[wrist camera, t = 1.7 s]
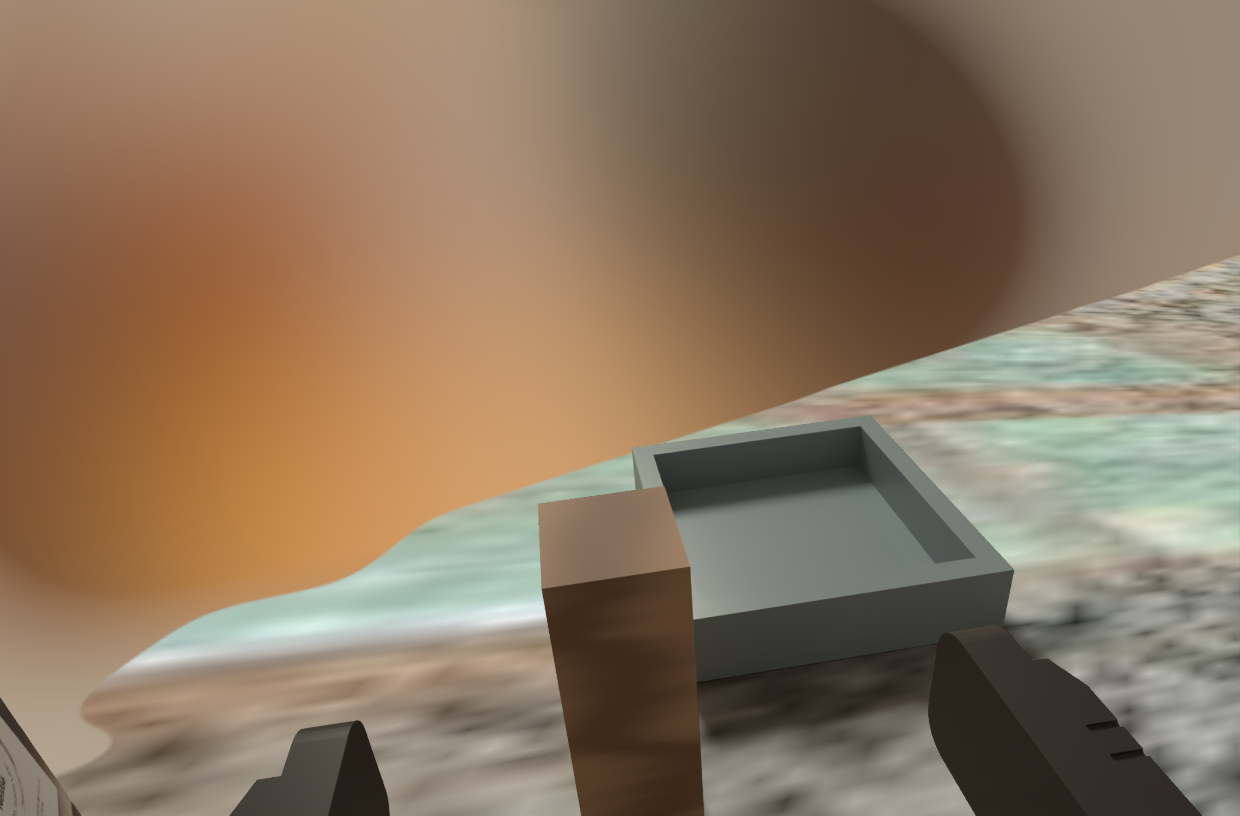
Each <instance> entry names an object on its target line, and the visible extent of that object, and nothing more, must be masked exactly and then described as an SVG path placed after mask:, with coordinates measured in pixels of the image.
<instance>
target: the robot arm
mask: <svg viewBox="0 0 1240 816" xmlns="http://www.w3.org/2000/svg"><path fill="white" fill-rule="evenodd" d="M928 717H929V724H930V729H931V733H932V736H933V739H934V742H935V745H936V747H937V749H938V751H939V753H940V755H941V757H942V759H943V761H944V762H945V764H946V766H947V767H948V769H949V771H950V773H951V774H952V776H953V778H954V779H955V781H956V783H957V785H958V786H959V788H960V790H961V791H962V793H963V795H964V796H965V798H966V800H967V802H968V803H969V805H970V807H971V808H972V810H973V812H974V813H975V815H976V816H1202V815H1201V814H1200V813H1199V812H1198V811H1197V809H1196V808H1195V807H1194V806H1193V805H1192V804H1191V803H1190V801H1189V800H1188V799H1187V798H1186V797H1185V796H1184V795H1183V794H1182V792H1181V791H1180V790H1179V789H1178V788H1177V787H1176V786H1175V784H1174V783H1173V782H1172V781H1171V780H1170V779H1169V778H1168V776H1167V775H1166V774H1165V773H1164V772H1163V771H1162V770H1161V769H1160V767H1159V766H1158V765H1157V764H1156V763H1155V762H1154V761H1153V759H1152V758H1151V757H1150V756H1145V754H1144V753H1143V748H1142V747H1141V746H1140V745H1139V744H1138V742H1137V741H1136V740H1135V739H1134V738H1133V737H1132V736H1131V734H1130V733H1129V732H1128V731H1127V730H1126V729H1125V728H1124V727H1120V726H1119V724H1118V721H1117V719H1116V717H1115V716H1114V715H1113V714H1112V713H1111V712H1110V711H1109V709H1108V708H1107V707H1106V706H1105V705H1104V704H1103V703H1102V702H1101V700H1100V699H1099V698H1098V697H1097V696H1096V695H1095V694H1094V692H1093V691H1092V690H1091V689H1090V688H1089V687H1088V686H1087V685H1086V684H1084V683H1083V682H1082V681H1080V680H1079V679H1077V678H1076V677H1074V676H1073V675H1071V674H1070V673H1068V672H1067V671H1065V670H1064V669H1062V668H1061V667H1059V666H1058V665H1056V664H1055V663H1053V662H1052V661H1050V660H1049V659H1040V660H1034V661H1032V660H1031V659H1030V658H1029V656H1028V655H1027V654H1026V653H1025V652H1024V650H1023V649H1022V648H1021V647H1020V646H1019V644H1018V643H1017V642H1016V641H1015V640H1014V638H1013V637H1012V636H1011V635H1010V634H1009V633H1008V632H1007V631H1006V630H1005V629H1004V628H1002V627H1000V626H997V625H994V626H987V627H980V628H974V629H967V630H960V631H954V632H947V633H944V634H942V635H941V636H940V639H939V641H938V647H937V653H936V660H935V666H934V673H933V680H932V686H931V693H930V699H929V707H928ZM230 816H390V812H389V803H388V797H387V793H386V789H385V786H384V783H383V780H382V777H381V775H380V772H379V769H378V766H377V763H376V760H375V757H374V754H373V751H372V748H371V745H370V742H369V739H368V736H367V733H366V731H365V728H364V726H363V724H362V723H361V722H360V721H358V720H357V721H350V722H344V723H337V724H331V725H324V726H318V727H311V728H305V729H301V730H300V731H298V733H297V734H296V735H295V737H294V739H293V742H292V745H291V748H290V751H289V754H288V757H287V760H286V763H285V766H284V769H283V772H282V775H281V776H279V777H272V778H266V779H260V780H256V782H255V783H254V784H253V786H252V787H251V788H250V790H249V791H248V792H247V794H246V795H245V796H244V797H243V799H242V800H241V801H240V803H239V804H238V805H237V807H236V808H235V809H234V811H233V812H232V813H231V814H230Z"/></svg>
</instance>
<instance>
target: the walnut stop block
mask: <svg viewBox="0 0 1240 816" xmlns="http://www.w3.org/2000/svg"><path fill="white" fill-rule="evenodd" d="M538 515H539V538H540V562H541V585H542V594H543V599H544V605H545V611H546V617H547V622H548V628H549V634H550V639H551V645H552V651H553V656H554V662H555V668H556V674H557V679H558V685H559V691H560V696H561V702H562V708H563V714H564V719H565V725H566V731H567V736H568V742H569V748H570V754H571V759H572V765H573V771H574V776H575V782H576V788H577V793H578V799H579V805H580V811H581V816H704V804H703V786H702V767H701V749H700V731H699V713H698V695H697V677H696V658H695V640H694V622H693V604H692V586H691V568H690V564H689V560H688V557H687V554H686V551H685V548H684V545H683V542H682V539H681V536H680V533H679V530H678V527H677V524H676V521H675V517H674V514H673V511H672V508H671V505H670V502H669V499H668V496H667V493H666V490H665V487H664V486H660V487H653V488H646V489H639V490H632V491H625V492H618V493H611V494H604V495H597V496H590V497H583V498H576V499H569V500H562V501H555V502H548V503H541V504H538Z"/></svg>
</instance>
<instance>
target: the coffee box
mask: <svg viewBox="0 0 1240 816" xmlns="http://www.w3.org/2000/svg"><path fill="white" fill-rule="evenodd" d="M0 816H81V814H80V813H79V812H78V810H77V809H76V807H75V806H74V805H73V803H72V802H71V800H70V799H69V797H68V795H67V794H66V792H65V791H64V790H63V788H62V787H61V785H60V784H59V782H58V781H57V779H56V778H55V776H54V775H53V773H52V772H51V771H50V769H49V768H48V766H47V765H46V763H45V762H44V760H43V759H42V758H41V756H40V755H39V753H38V752H37V751H36V749H35V748H34V746H33V745H32V743H31V742H30V740H29V739H28V737H27V736H26V734H25V733H24V731H23V730H22V728H21V727H20V726H19V725H18V723H17V722H16V720H15V719H14V717H13V716H12V714H11V713H10V711H9V710H8V708H7V707H6V705H5V704H4V703H3V701H2V699H1V698H0Z"/></svg>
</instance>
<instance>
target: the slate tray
mask: <svg viewBox="0 0 1240 816" xmlns="http://www.w3.org/2000/svg"><path fill="white" fill-rule="evenodd" d="M632 454H633V464H634V475H635V486H636V490H639V489H646V488H653V487H660V486H664V487H665V490H666V493H667V496H668V499H669V502H670V505H671V508H672V511H673V514H674V517H675V521H676V524H677V527H678V530H679V533H680V536H681V539H682V542H683V545H684V548H685V551H686V554H687V557H688V560H689V564H690V568H691V586H692V604H693V622H694V640H695V658H696V677H697V682H702V681H708V680H714V679H720V678H727V677H733V676H739V675H745V674H751V673H758V672H764V671H770V670H776V669H782V668H789V667H795V666H801V665H807V664H813V663H820V662H826V661H832V660H838V659H844V658H850V657H857V656H863V655H869V654H875V653H881V652H888V651H894V650H900V649H906V648H912V647H919V646H925V645H931V644H937V643H938V641H939V639H940V636H941V635H942V634H944V633H947V632H954V631H960V630H967V629H974V628H980V627H987V626H994V625H997V626H1000V627H1002V628H1003V623H1004V618H1005V613H1006V608H1007V603H1008V598H1009V593H1010V588H1011V583H1012V578H1013V573H1014V569H1013V568H1012V567H1011V566H1010V565H1009V564H1008V563H1007V561H1006V560H1005V559H1004V558H1003V557H1002V556H1001V555H1000V554H999V553H998V552H997V551H996V550H995V549H994V547H993V546H992V545H991V544H990V543H989V542H988V541H987V540H986V539H985V538H984V537H983V536H982V535H981V533H980V532H979V531H978V530H977V529H976V528H975V527H974V526H973V525H972V524H971V523H970V522H969V521H968V520H967V518H966V517H965V516H964V515H963V514H962V513H961V512H960V511H959V510H958V509H957V508H956V507H955V506H954V504H953V503H952V502H951V501H950V500H949V499H948V498H947V497H946V496H945V495H944V494H943V493H942V492H941V490H940V489H939V488H938V487H937V486H936V485H935V484H934V483H933V482H932V481H931V480H930V479H929V478H928V477H927V475H926V474H925V473H924V472H923V471H922V470H921V469H920V468H919V467H918V466H917V465H916V464H915V463H914V461H913V460H912V459H911V458H910V457H909V456H908V455H907V454H906V453H905V452H904V451H903V450H902V449H901V447H900V446H899V445H898V444H897V443H896V442H895V441H894V440H893V439H892V438H891V437H890V436H889V435H888V434H887V432H886V431H885V430H884V429H883V428H882V427H881V426H880V425H879V424H878V423H877V422H876V421H875V420H874V418H873V417H872V416H871V415H868V416H860V417H853V418H846V419H839V420H832V421H824V422H817V423H810V424H803V425H795V426H788V427H781V428H774V429H766V430H759V431H752V432H745V433H737V434H730V435H723V436H716V437H709V438H701V439H694V440H687V441H680V442H672V443H665V444H658V445H651V446H644V447H636V448H632Z"/></svg>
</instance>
